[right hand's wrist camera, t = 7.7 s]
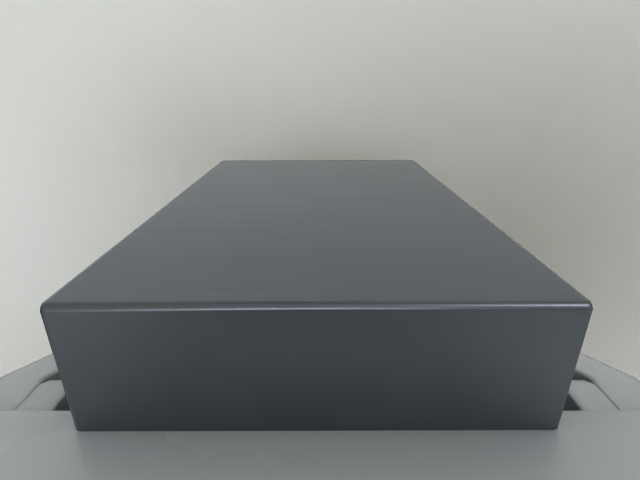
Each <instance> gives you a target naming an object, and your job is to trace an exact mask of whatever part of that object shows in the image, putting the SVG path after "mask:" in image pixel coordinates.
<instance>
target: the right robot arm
mask: <svg viewBox="0 0 640 480" xmlns="http://www.w3.org/2000/svg"><path fill="white" fill-rule="evenodd" d="M0 480H640V381H639V380H638V379H636V378H634V377H632V376H629V375H627V374H625V373H623V372H621V371H619V370H616V369H614V368H612V367H610V366H608V365H606V364H604V363H601V362H599V361H597V360H595V359H593V358H591V357H588V356H586V355H584V354H582V353H580V354H579V358H578V361H577V364H576V368H575V371H574V375H573V378H572V381H571V385H570V388H569V392H568V395H567V398H566V402H565V405H564V409H563V412H562V416H561V419H560V422H559V426H558V429H555V430H408V431H78V430H76V427H75V424H74V421H73V418H72V414H71V411H70V408H69V404H68V401H67V398H66V395H65V391H64V388H63V385H62V382H61V378H60V375H59V372H58V368H57V365H56V362H55V359H54V355H53V354H51V355H49V356H47V357H44V358H42V359H40V360H38V361H36V362H33V363H31V364H29V365H27V366H25V367H23V368H20V369H18V370H16V371H14V372H12V373H9V374H7V375H5V376H3V377H1V378H0Z"/></svg>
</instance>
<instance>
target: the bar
mask: <svg viewBox="0 0 640 480" xmlns="http://www.w3.org/2000/svg"><path fill="white" fill-rule="evenodd" d="M592 310H593V308H592V304H591V302H590V301H589V300H588V299H587V298H586V297H584V296H583V295H582V294H581V293H579V292H578V291H577V290H576V289H574V288H573V287H572V286H571V285H569V284H568V283H567V282H566V281H564V280H563V279H562V278H560V277H559V276H558V275H557V274H555V273H554V272H553V271H552V270H550V269H549V268H548V267H547V266H545V265H544V264H543V263H542V262H540V261H539V260H538V259H537V258H535V257H534V256H533V255H532V254H530V253H529V252H528V251H526V250H525V249H524V248H523V247H521V246H520V245H519V244H518V243H516V242H515V241H514V240H513V239H511V238H510V237H509V236H508V235H506V234H505V233H504V232H503V231H501V230H500V229H499V228H498V227H496V226H495V225H494V224H492V223H491V222H490V221H489V220H487V219H486V218H485V217H484V216H482V215H481V214H480V213H479V212H477V211H476V210H475V209H474V208H472V207H471V206H470V205H469V204H467V203H466V202H465V201H464V200H462V199H461V198H460V197H458V196H457V195H456V194H455V193H453V192H452V191H451V190H450V189H448V188H447V187H446V186H445V185H443V184H442V183H441V182H440V181H438V180H437V179H436V178H435V177H433V176H432V175H431V174H429V173H428V172H427V171H426V170H424V169H423V168H422V167H421V166H419V165H418V164H417V163H416V162H414V161H413V160H289V161H222V162H220V163H219V164H218V165H217V166H215V167H214V168H213V169H212V170H210V171H209V172H208V173H206V174H205V175H204V176H203V177H201V178H200V179H199V180H198V181H196V182H195V183H194V184H193V185H191V186H190V187H189V188H187V189H186V190H185V191H184V192H182V193H181V194H180V195H179V196H177V197H176V198H175V199H174V200H172V201H171V202H170V203H168V204H167V205H166V206H165V207H163V208H162V209H161V210H160V211H158V212H157V213H156V214H155V215H153V216H152V217H151V218H149V219H148V220H147V221H146V222H144V223H143V224H142V225H141V226H139V227H138V228H137V229H136V230H134V231H133V232H132V233H130V234H129V235H128V236H127V237H125V238H124V239H123V240H122V241H120V242H119V243H118V244H117V245H115V246H114V247H113V248H111V249H110V250H109V251H108V252H106V253H105V254H104V255H103V256H101V257H100V258H99V259H98V260H96V261H95V262H94V263H92V264H91V265H90V266H89V267H87V268H86V269H85V270H84V271H82V272H81V273H80V274H79V275H77V276H76V277H75V278H74V279H72V280H71V281H70V282H68V283H67V284H66V285H65V286H63V287H62V288H61V289H60V290H58V291H57V292H56V293H55V294H53V295H52V296H51V297H49V298H48V299H47V300H46V301H44V302H43V303H42V305H41V308H40V313H41V316H42V319H43V323H44V326H45V329H46V332H47V336H48V339H49V342H50V346H51V349H52V352H53V355H54V359H55V362H56V365H57V368H58V372H59V375H60V378H61V382H62V385H63V388H64V391H65V395H66V398H67V401H68V404H69V408H70V411H71V414H72V418H73V421H74V424H75V427H76V430H78V431H408V430H555V429H558V426H559V422H560V419H561V416H562V412H563V409H564V405H565V402H566V398H567V395H568V392H569V388H570V385H571V381H572V378H573V375H574V371H575V368H576V364H577V361H578V358H579V354H580V351H581V347H582V344H583V341H584V337H585V334H586V330H587V327H588V323H589V320H590V317H591V313H592Z"/></svg>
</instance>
